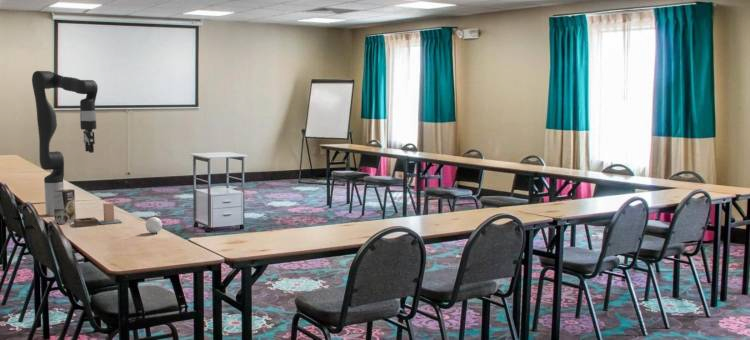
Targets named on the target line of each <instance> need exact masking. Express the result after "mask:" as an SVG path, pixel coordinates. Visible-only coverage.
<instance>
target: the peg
mask: <svg viewBox="0 0 750 340" xmlns="http://www.w3.org/2000/svg"><path fill="white" fill-rule="evenodd" d="M102 204H103V205H102V206H103V220H104V221H105V222H114V219H115V208H114V207H115V206H114V205H115V204H114V202H103V203H102Z"/></svg>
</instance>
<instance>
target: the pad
mask: <svg viewBox="0 0 750 340" xmlns="http://www.w3.org/2000/svg"><path fill="white" fill-rule="evenodd" d="M114 224H115V225H116V224H123V221H121V220H119V219H118V218H114V222H105V221H104V219H103V220H98V225H101V226H106V225H114Z"/></svg>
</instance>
